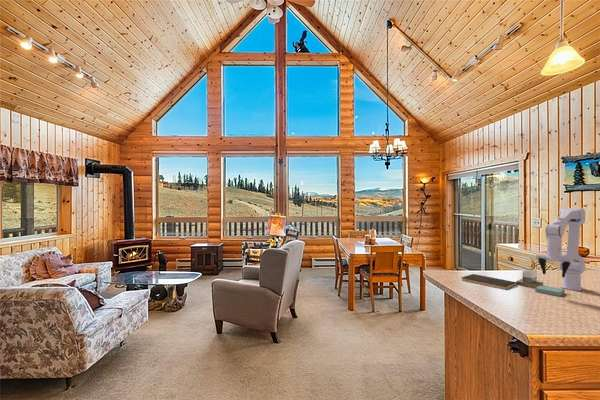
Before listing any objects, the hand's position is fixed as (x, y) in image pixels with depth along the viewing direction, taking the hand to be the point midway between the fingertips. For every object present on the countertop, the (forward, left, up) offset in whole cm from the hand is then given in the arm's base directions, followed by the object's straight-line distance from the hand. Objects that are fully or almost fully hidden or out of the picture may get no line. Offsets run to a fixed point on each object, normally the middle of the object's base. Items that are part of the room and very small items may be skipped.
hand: (553, 275), depth 160 cm
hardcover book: (0, -30, -11) cm, 32 cm away
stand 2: (-5, -3, -10) cm, 12 cm away
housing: (-13, -14, -8) cm, 21 cm away
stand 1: (-13, -14, -10) cm, 22 cm away
